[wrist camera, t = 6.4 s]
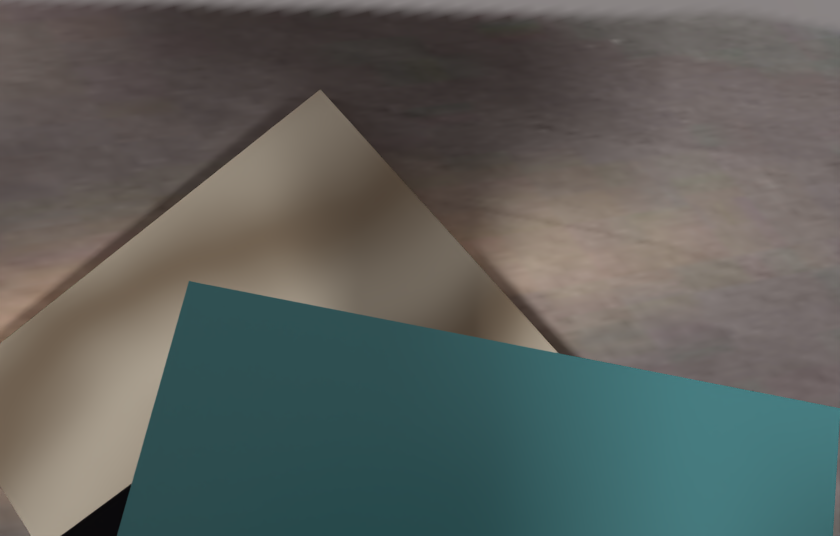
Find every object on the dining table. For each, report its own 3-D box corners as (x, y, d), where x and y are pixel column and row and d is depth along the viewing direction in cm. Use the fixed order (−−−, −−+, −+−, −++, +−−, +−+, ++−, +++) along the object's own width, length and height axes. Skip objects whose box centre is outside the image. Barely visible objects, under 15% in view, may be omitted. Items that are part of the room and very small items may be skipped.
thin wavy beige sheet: (681, 497, 20) (693, 503, 19) (273, 880, 18) (263, 908, 17) (325, 101, 24) (320, 89, 23) (-37, 390, 22) (-59, 390, 21)
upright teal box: (543, 634, 13) (787, 1315, 4) (313, 577, 14) (-25, 1034, 4) (578, 393, 14) (839, 407, 5) (363, 350, 15) (189, 281, 5)
